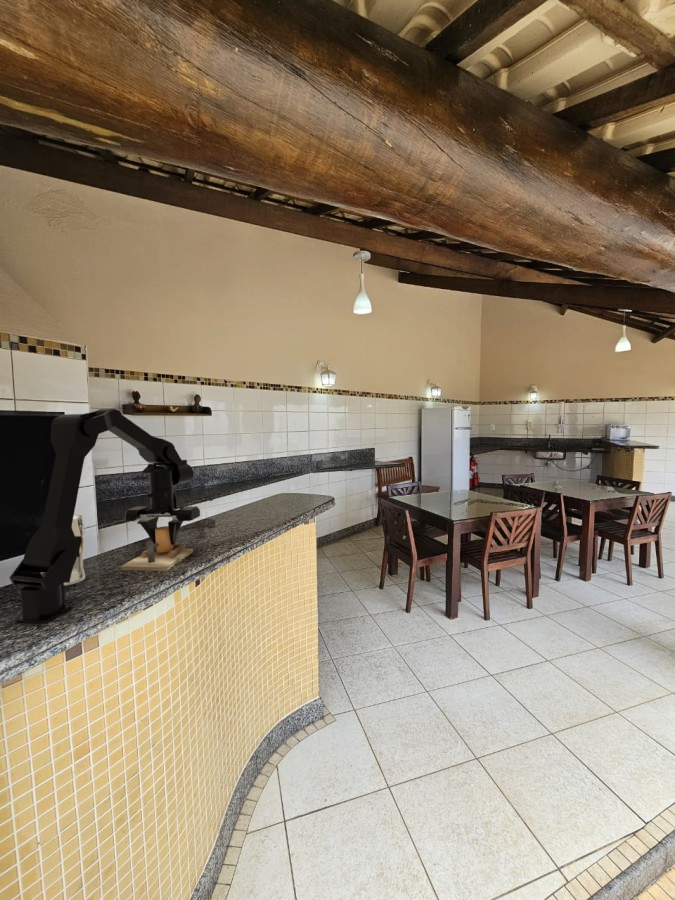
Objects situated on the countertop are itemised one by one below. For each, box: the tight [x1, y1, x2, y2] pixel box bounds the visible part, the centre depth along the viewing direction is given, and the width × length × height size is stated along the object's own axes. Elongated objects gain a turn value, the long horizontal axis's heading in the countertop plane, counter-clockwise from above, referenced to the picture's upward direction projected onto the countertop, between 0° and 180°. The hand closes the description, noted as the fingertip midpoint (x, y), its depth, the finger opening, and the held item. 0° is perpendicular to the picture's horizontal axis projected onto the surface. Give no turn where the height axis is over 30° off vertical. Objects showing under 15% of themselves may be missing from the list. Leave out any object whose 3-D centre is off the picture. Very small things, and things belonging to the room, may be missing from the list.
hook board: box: [120, 543, 194, 572], centre depth 105 cm, size 14×12×5 cm
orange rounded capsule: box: [155, 525, 174, 552], centre depth 108 cm, size 4×4×6 cm
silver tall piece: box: [63, 514, 86, 587], centre depth 92 cm, size 7×7×15 cm
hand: (164, 544), depth 108 cm, fingers open, 5 cm apart
